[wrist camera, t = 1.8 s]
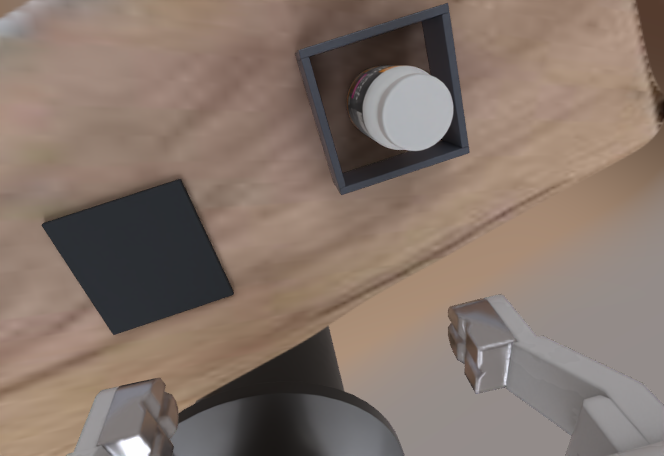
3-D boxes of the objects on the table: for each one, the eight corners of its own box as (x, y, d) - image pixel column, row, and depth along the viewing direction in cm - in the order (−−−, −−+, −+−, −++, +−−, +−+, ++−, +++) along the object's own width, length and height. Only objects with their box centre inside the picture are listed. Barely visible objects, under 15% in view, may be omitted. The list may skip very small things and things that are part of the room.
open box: (449, 144, 35) (469, 153, 32) (333, 182, 35) (341, 195, 31) (427, 11, 31) (448, 2, 27) (294, 53, 31) (298, 50, 27)
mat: (234, 292, 38) (233, 294, 37) (115, 332, 37) (113, 335, 37) (180, 178, 33) (179, 179, 32) (44, 222, 32) (40, 224, 32)
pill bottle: (382, 50, 32) (429, 41, 22) (422, 105, 34) (478, 116, 25) (331, 99, 32) (355, 109, 23) (372, 149, 34) (410, 176, 25)
